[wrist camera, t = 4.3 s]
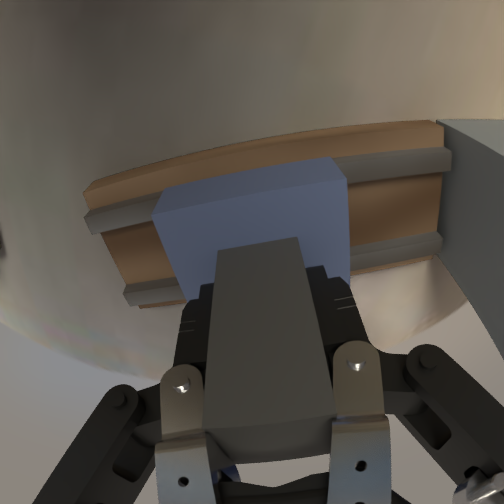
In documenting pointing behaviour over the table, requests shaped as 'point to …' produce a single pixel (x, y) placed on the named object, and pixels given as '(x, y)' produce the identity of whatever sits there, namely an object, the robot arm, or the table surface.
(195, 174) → the rail bed
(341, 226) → the carriage
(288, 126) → the table surface
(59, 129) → the table surface
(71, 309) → the table surface
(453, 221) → the end cabinet
